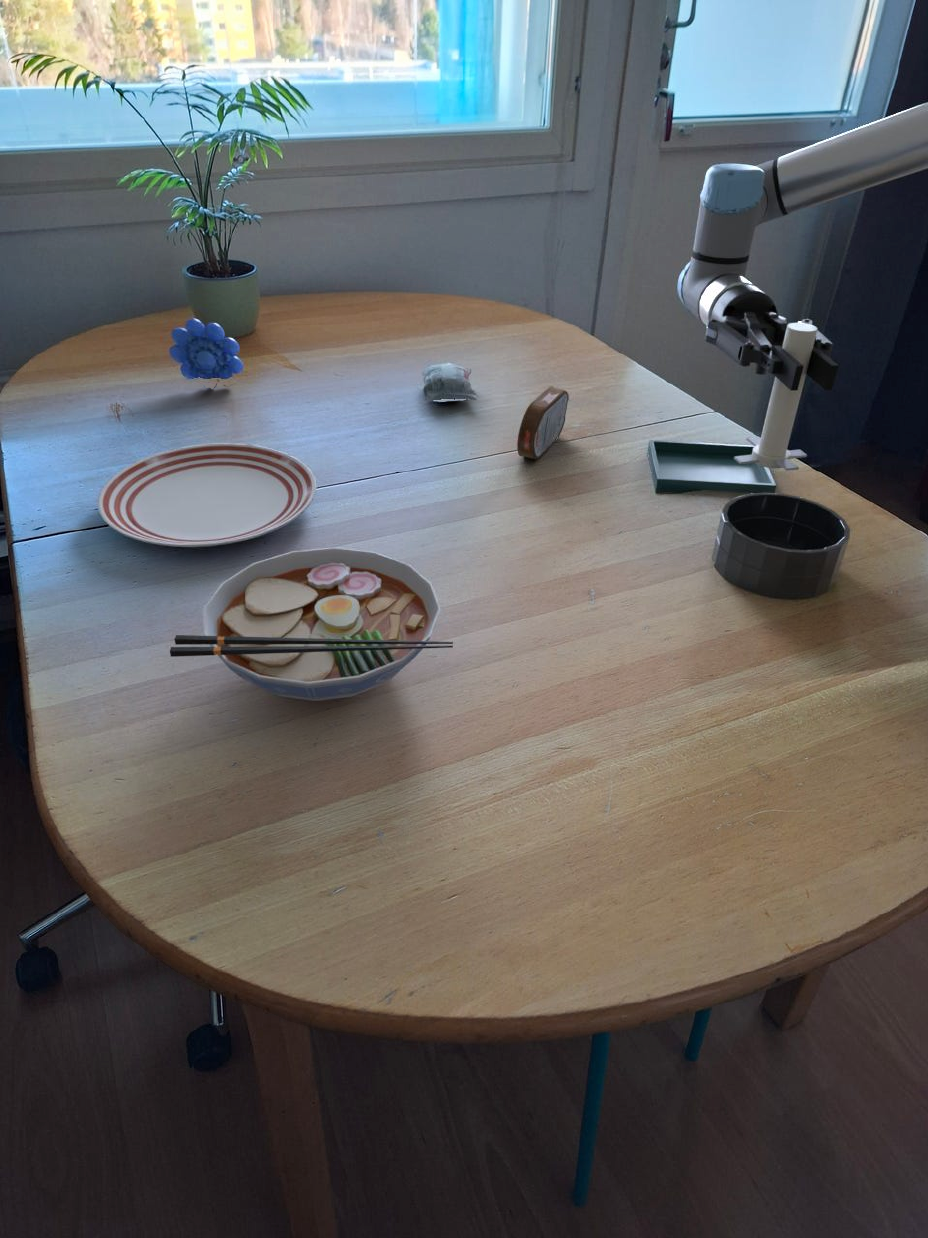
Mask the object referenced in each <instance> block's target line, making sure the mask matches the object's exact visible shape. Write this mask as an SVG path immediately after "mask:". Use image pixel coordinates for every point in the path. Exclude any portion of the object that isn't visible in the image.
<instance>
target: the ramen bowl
mask: <svg viewBox="0 0 928 1238" xmlns="http://www.w3.org/2000/svg"><path fill="white" fill-rule="evenodd" d="M441 610H442V606H441V604H440V601H439V598H438V596H437V592H436V591H435V587H434V584H433V583H432V582H431V581H430V580H429V579H428V578H426V577H425V576H424V575H423V574H422V573H420V572H419V571H418V570H417V569H416V568H414V567H413V566H412V565H411V564H410V563H408V562H405V561H401V560H399V559H396V558H393V557H391V556H388V555H386V554H382V553H380V552H376V551H372V550H371V551H370V550H363V549H354V548H346V547H337V546H333V547H331V546H330V547H322V548H312V549H303V550H292V551H287V552H285V553H282V554H279V555H275V556H273V557H272V556H271V557H270V558H266V559H263V560H259V561H256V562H253V563H251V564H249V565H248V566H246V567H244V568H243V569H241V570H240V571H238V572H237V573H234V575H232V576H230V577H229V578H227V579H226V580H224V581H222V582H221V583H220V585H218V587H217V589H215V591H214V593H213V594H212V595H211V597H210V598H209V599H208V600H207V602H206V603H205V605H203V607H202V635H190V634H189V635H187V634H176V635H175V637H174V643H175V644H174V645H176V646H170V648H169V654H170V655H169V656H170V657H171V658H174V657H176V658H177V657H206V656H218V657H219V659H220V660H221V661H222V662H223V663H224V664H225V666H227V668H228V669H229V670H230V671H232V673H234V674H236V675H237V676H239V678H241V679H242V680H243V679H244V680H245V681H247V682H249V683H252V684H253V685H256V686H257V687H260V688H262V689H264V690H266V691H268V692H271V693H273V694H274V695H277V696H279V697H282V698H290V699H298V700H303V701H305V700H306V701H311V702H312V701H313V702H319V701H321V702H322V701H328V700H335V699H343V698H351V697H355V696H357V695H360V694H362V693H364V692H367V691H369V690H372V689H374V688H378V687H380V686H382V685H384V684H386V683H388V682H389V681H390V680H392V679H393V678H394V677H395V676H396V675H397V674H398V673H399V672H401V670H403V669H404V668H405V667H406V666H407V665H408V664H409V663H411V662H412V661H413V660H414V659H415V658H416V657H417V656H418V655H419V654H420V653H421V652H422V651H423V649H447V648H448V649H451V648H454V646H453V645H454V642H453V641H433V640H432V641H431V640H430V639H431V637H432V636H433V632H434V629H435V627H436V624H437V621H438V619H439V616H440V613H441ZM177 645H181V646H177ZM185 645H192V646H185ZM195 645H197V646H195ZM198 645H199V646H198ZM200 645H201V646H200ZM202 645H210V646H202Z"/></svg>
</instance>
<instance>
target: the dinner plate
mask: <svg viewBox="0 0 928 1238" xmlns="http://www.w3.org/2000/svg"><path fill="white" fill-rule="evenodd" d="M316 480H317V479H316V477H315V474H314V473H313V472H312V470H311V468H309V466H308V465H307V464H305V463H304V462H303V461H301V460H300V459H298V458H296V457H295V456H292V455H290V454H289V453H286V452H284V451H280V450H278V449H274V448H270V447H267V446H261V445H255V444H249V443H239V442H237V443H236V442H216V443H204V444H203V443H202V444H195V445H188V446H182V447H177V448H173V449H168V450H165V451H161V452H158V453H155V454H151V455H149V456H145V457H144V458H142V459H139V460H137V461H135V462H133V463H131V464H129V465H127V466H125V467H123V468H122V469H121V470H119V471H117V472H116V473H115V474H114V475H113V476H111V477H110V478H109V479H108V480H107V482H106V483H105V484H104V485H103V486H102V487H101V489H100V492H99V494H98V496H97V509H98V512H99V514H100V516H101V518H102V519H103V521H104V522H105V523H106V524H107V526H109V527H110V528H111V529H113V530H114V531H116V532H117V533H119V534H121V535H123V536H125V537H127V538H130V539H133V540H136V541H140V542H143V543H147V544H153V545H158V546H163V547H164V546H165V547H173V548H175V547H178V548H200V547H213V546H215V547H216V546H221V545H230V544H235V543H239V542H245V541H247V540H252V539H256V538H258V537H261V536H264V535H267V534H270V533H272V532H275V531H277V530H280V529H281V528H283V527H285V526H287V525H289V524H290V523H292V522H293V521H295V520H296V519H297V518H299V517H300V516H301V515H302V514H304V513H305V511H307V509H308V508H309V507H310V506H311V504H312V503H313V501H314V499H315V497H316V494H317V487H318V486H317V481H316Z"/></svg>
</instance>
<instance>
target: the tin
mask: <svg viewBox="0 0 928 1238" xmlns="http://www.w3.org/2000/svg"><path fill="white" fill-rule="evenodd" d="M569 400H570V396H569V392H568V391H567V390H565V389H563V388H559V387H555V386H554V385H549V386H548V387H547V388H546V389H545V390H543V391H542V392H541V393H540V394H539V395H538V396H537V397H535V399H533V400H532V401H531V402H530V403H529V405H528V406H527V408H526V409H525V412H524V414H523V417H522V419H521V423H520V426H519V429H518V435H517V442H516V443H517V446H516V447H517V454H518V455H519V457H525V458H527V459H531V460H538V459H540V458H541V457H542V456H543V455H544V454H545V453H546V452H547V451H548V450H549V449H550V447H551V446H552V445H553V444H554V443H555V442H556V441H557V440H558V439H557V437H558V438H559V437H560V436H561V433H562V431H563V428H564V426H565V423H566V414H567V410H568V404H569ZM556 439H557V440H556ZM555 440H556V441H555ZM554 441H555V442H554ZM553 442H554V443H553ZM552 443H553V444H552ZM551 444H552V445H551ZM550 445H551V446H550ZM549 446H550V447H549ZM544 452H545V453H544ZM543 453H544V454H543ZM542 454H543V455H542ZM541 455H542V456H541ZM540 456H541V457H540ZM539 457H540V458H539Z"/></svg>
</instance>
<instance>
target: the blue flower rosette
mask: <svg viewBox="0 0 928 1238" xmlns="http://www.w3.org/2000/svg"><path fill="white" fill-rule="evenodd" d="M171 339H172V341H173V342H174V344H173V345H171V346H170V347H169V350H168V352H169V355H170V358H171V359H172V360H173V361H175V363H178V364H181V365H180V373H181V375H182V376H183V377H184V378H185V379H187V378H188V379H187V380H189V379H194V378H197V379H199V378H198V377H200V378H203V379H211V378H221V379H228V378H230V377H233V375H234V374H235V375H239V374H240V373H242V372H243V371H244V363H243V360H241V359H240V358H239V356H237V355H238V354H239V353H240V350H241V349H240V345H239V342H237V341H236V339H234V338H233V337H227V336H226V337H225V331H224V328H223V327H222V326H221V325H220V324H219V323H216V322H212V321H211V322H209V323H207V324H206V325H204V323H202V321H200V319H197V318H193V317H191V318H189V319H187V320H186V321H185V328H184V327H179V326H176V327H175V328H173V329H172V330H171Z"/></svg>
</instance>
